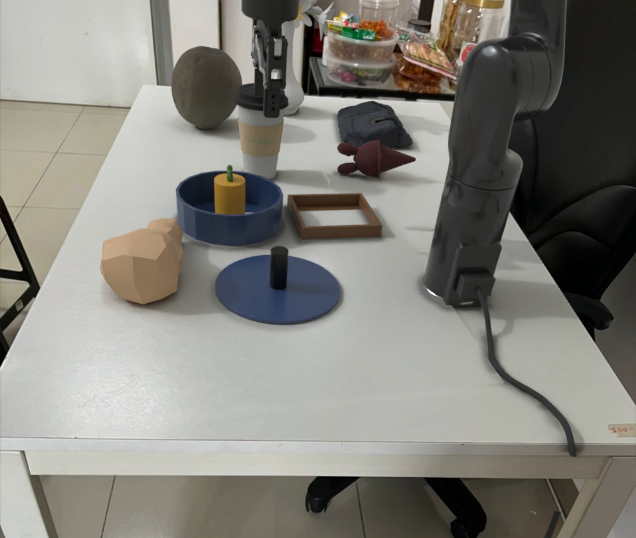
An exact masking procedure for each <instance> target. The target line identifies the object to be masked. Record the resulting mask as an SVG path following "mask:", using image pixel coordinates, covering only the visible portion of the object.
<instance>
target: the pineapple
mask: <svg viewBox="0 0 636 538" xmlns="http://www.w3.org/2000/svg"><path fill="white" fill-rule="evenodd" d="M233 167H234V166H233V165H231V164H228V165H227V166H226V171H227V173H226V174H220V175H217V176H216V177H215V178H214V191H215V213H218V214H227V215H236V214H246V213H245V178H244V177H242V176H240V175H237V174H233V171H234V169H233Z"/></svg>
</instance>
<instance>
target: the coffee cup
mask: <svg viewBox="0 0 636 538" xmlns="http://www.w3.org/2000/svg"><path fill="white" fill-rule="evenodd" d="M234 102H235V103H236V104H237V111H238V113H237V114H238V117H237V121H238V131H239V143H240V150H241V155H242V164H243V166H242V167H243V172H248V173H252V174H256V175H260V176H262V177H265V178H267V179H269V180H272V179H274V178H275V177H276V174H277V167H278V159H279V153H280V152H281V146H282V145H281V144H282V138H283V137H282V136H283V130H284V123H285V119H284V117H285V115H284V110H285V108H286V107H288V105H289V103H288V98H287V96H285V91H284V89H282V90H281V97H280V115H279V117H278V118H266V117H265V116H264V114H263V104H264V97H258V96H256V95H255V93H254V82H250V83H245V84H242V86H240V87H239V91H238V93H236V95H235V99H234Z"/></svg>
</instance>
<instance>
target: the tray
mask: <svg viewBox="0 0 636 538" xmlns="http://www.w3.org/2000/svg"><path fill="white" fill-rule="evenodd" d="M286 200H287V201H286V208H287V209H288V212H289V213H290V216H291V217H292V220H293V223H294V224H295V226H296V229H297V232H298V235H299V236H300V238H301V240H324V239H325V240H326V239H327V240H328V239H348V238H349V239H351V238H353V239H354V238H378V237H382V232H383V226H384V225H383V224H382V222H381V220H380V219H379V217H378V216H377V214H376V213H375V211H374V209H373V208H372V207H371V205H370V203H369V202H368V201H367V199H366V197H365V196H364V194H363V193H362V192H346V193H343V192H341V193H340V192H339V193H298V194H297V193H295V194H292V193H291V194H287V199H286ZM360 210H361V212H362V214H363V215H364V217H365V219H366V220H367V224H366V223H365V224H364V223H363V224H339V225H338V224H335V225H306V224H305V222H304V219H303V218H302V216H301V213H300V212H323V211H324V212H325V211H328V212H329V211H360Z"/></svg>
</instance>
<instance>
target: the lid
mask: <svg viewBox="0 0 636 538" xmlns="http://www.w3.org/2000/svg"><path fill="white" fill-rule="evenodd" d="M289 253H290V252H289V248H288V247H285V246H283V245H275V246H273V247H271V248H270V254H259V255H253V256H247V257H244V258H241V259H238V260H235V261H233V262H231V263H230V264H227V266H225V267H224V268H223V269H222V270H221V271H220V272H219V273H218V275H217V277H216V279H215V283H214V290H215V294H216V297H217V299H218V300H219V302H220V303H221V304H222V305H223V306H224V307H225V308H226V309H228V310H229V311H231V312H232V313H234V314H236V315H238V316H240V317H242V318H244V319H247V320H251V321H254V322H258V323H263V324H270V325H295V324H301V323H307V322H311V321H313V320H317V319H319V318H321V317H323V316H325V315H326V314H328V313H330V312H331V311H332V310H333V309H334V308H335V307H336V305H337V304H338V302H339V299H340V295H341V288H340V284H339V281H338V280H337V278H336V277H335V275H333V274H332V272H330V271H329V270H328V269H327V268H325V267H323V266H321V265H320V264H318V263H316V262H313V261H311V260H308V259H305V258H302V257H298V256H293V255H290V254H289Z"/></svg>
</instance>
